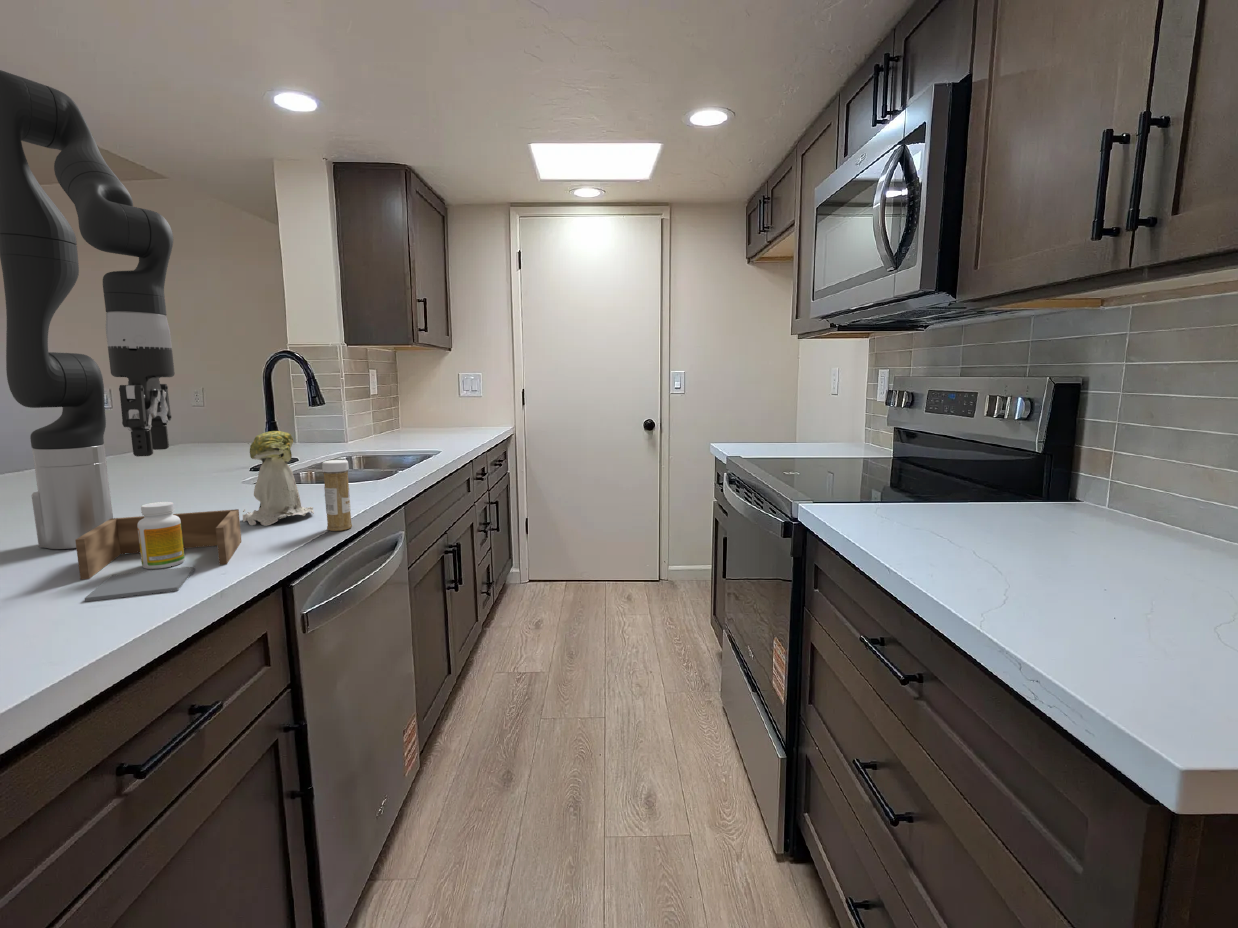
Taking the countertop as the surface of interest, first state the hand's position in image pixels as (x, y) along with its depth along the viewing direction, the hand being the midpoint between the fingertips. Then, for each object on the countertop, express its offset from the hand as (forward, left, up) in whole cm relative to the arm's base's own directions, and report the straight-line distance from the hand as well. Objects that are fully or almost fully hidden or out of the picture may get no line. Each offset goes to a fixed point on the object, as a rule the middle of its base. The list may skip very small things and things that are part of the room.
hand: (152, 452), depth 90 cm
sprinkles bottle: (+21, +19, -18) cm, 33 cm away
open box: (-1, +3, -18) cm, 18 cm away
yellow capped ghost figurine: (+6, +30, -18) cm, 36 cm away
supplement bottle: (0, 0, -18) cm, 18 cm away
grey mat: (+3, -10, -18) cm, 20 cm away
